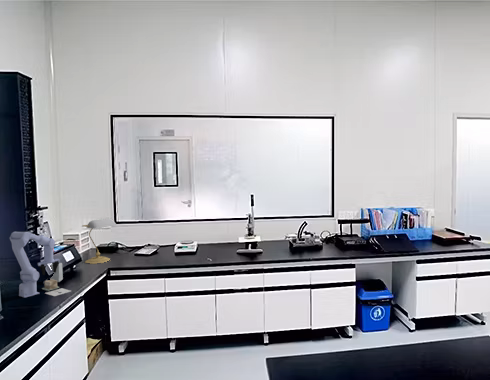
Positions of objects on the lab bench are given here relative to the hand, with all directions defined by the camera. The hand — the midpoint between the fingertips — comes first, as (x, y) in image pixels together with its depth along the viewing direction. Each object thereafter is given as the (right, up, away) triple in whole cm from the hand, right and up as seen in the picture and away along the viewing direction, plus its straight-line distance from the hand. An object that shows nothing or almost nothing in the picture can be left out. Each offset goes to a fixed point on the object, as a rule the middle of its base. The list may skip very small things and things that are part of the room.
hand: (49, 273), depth 243 cm
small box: (-3, -9, +14) cm, 17 cm away
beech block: (+4, -9, -4) cm, 11 cm away
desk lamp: (+2, -7, +76) cm, 76 cm away
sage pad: (+3, -10, -4) cm, 11 cm away
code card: (+13, -10, -12) cm, 21 cm away
